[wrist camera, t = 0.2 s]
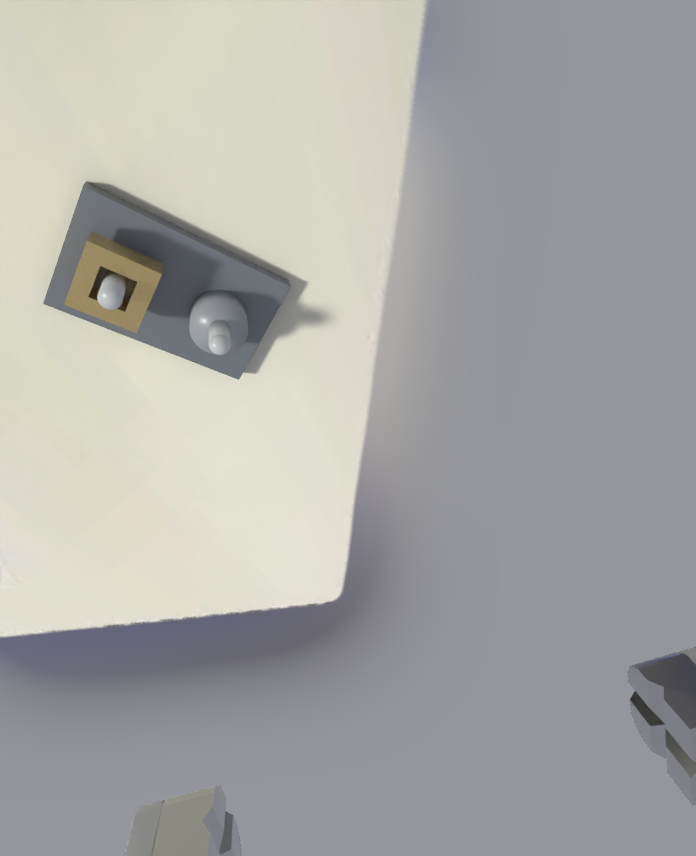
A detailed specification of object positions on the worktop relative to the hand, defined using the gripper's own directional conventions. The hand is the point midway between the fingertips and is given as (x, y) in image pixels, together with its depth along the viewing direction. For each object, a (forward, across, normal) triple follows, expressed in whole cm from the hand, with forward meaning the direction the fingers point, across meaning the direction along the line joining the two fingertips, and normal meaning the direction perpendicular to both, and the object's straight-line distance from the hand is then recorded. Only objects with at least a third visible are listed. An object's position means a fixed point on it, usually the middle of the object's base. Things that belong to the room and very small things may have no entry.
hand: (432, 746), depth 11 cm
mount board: (+52, +11, -7) cm, 54 cm away
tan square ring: (+48, +15, -9) cm, 51 cm away
